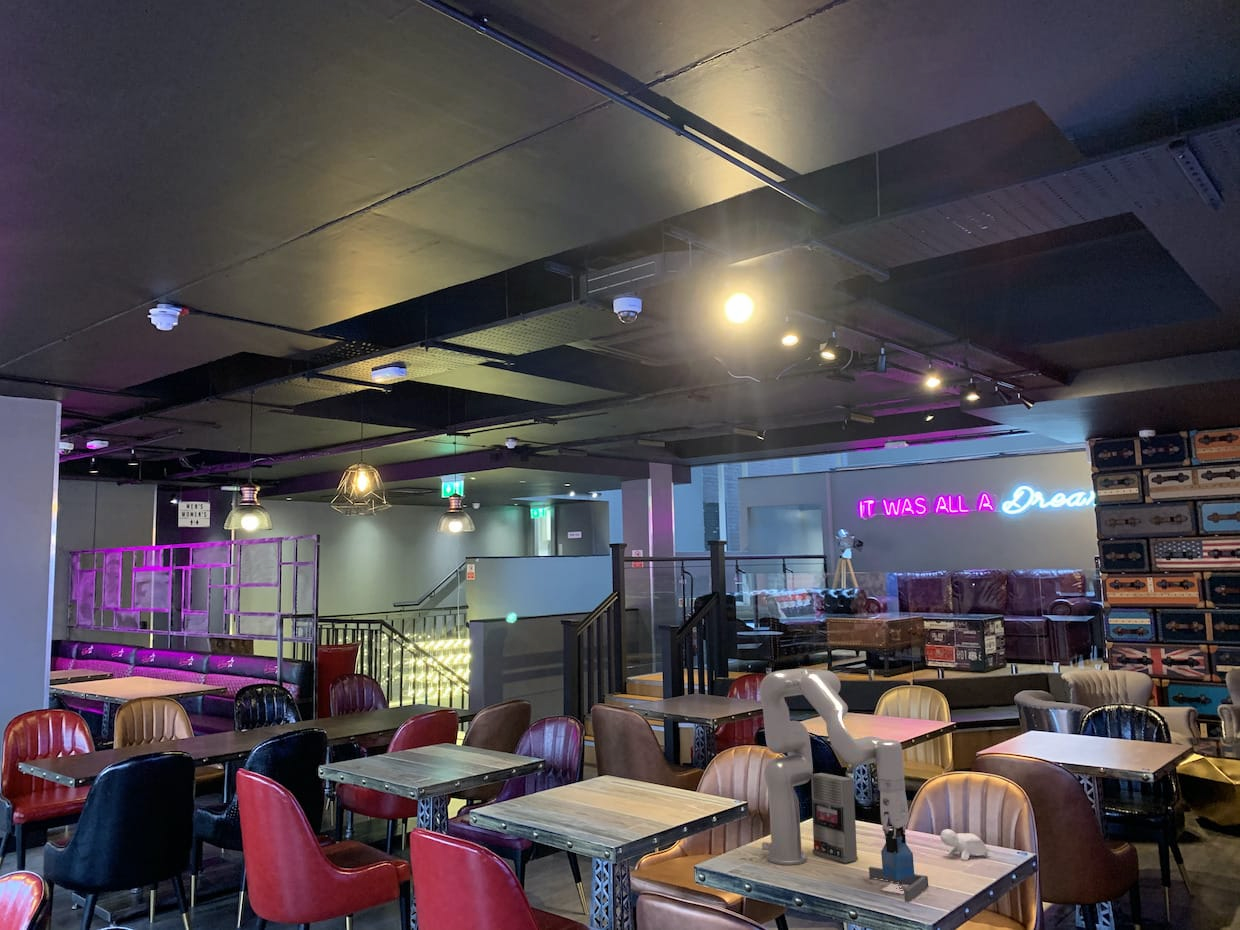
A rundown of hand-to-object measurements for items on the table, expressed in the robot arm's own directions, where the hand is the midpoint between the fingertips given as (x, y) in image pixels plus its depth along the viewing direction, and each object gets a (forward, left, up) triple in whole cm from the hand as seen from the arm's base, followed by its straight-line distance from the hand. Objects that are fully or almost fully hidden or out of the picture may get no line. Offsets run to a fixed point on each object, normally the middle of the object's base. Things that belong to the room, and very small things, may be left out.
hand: (896, 849), depth 253 cm
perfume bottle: (0, 0, -7) cm, 7 cm away
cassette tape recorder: (-29, +19, -11) cm, 36 cm away
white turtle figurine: (+5, +42, -11) cm, 43 cm away
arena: (-2, -1, -11) cm, 11 cm away
